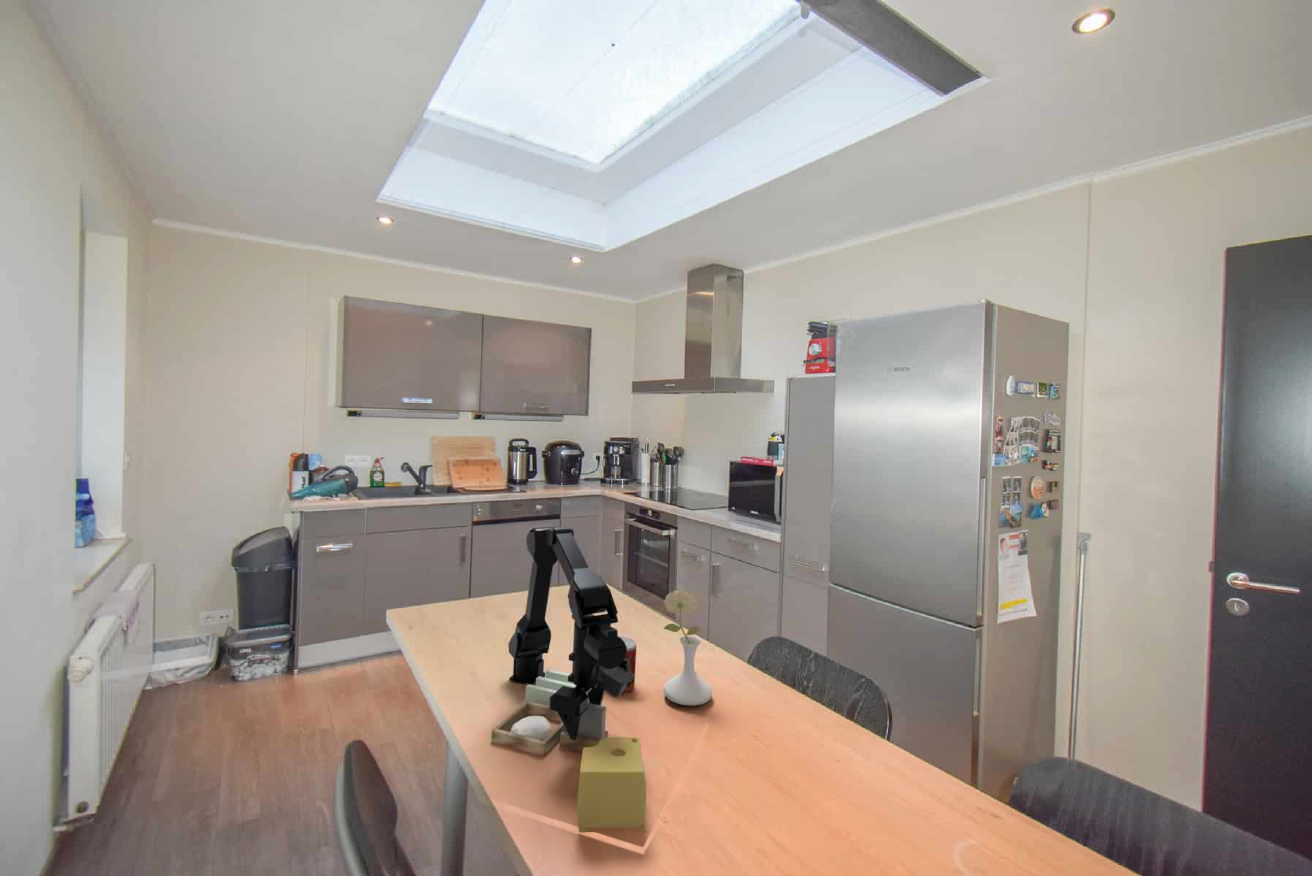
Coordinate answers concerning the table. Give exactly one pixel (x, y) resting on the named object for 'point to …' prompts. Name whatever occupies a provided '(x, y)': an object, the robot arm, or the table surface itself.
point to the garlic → (532, 727)
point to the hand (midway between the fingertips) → (584, 726)
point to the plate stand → (577, 742)
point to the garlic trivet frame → (522, 742)
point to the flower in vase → (686, 656)
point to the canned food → (632, 658)
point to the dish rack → (547, 687)
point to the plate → (592, 722)
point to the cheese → (612, 785)
